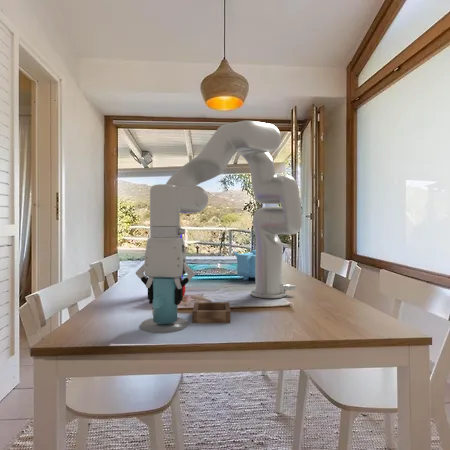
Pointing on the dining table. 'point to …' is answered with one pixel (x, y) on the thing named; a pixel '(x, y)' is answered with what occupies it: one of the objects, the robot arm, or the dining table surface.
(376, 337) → the dining table surface
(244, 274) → the light blue cushion
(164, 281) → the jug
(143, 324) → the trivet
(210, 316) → the cradle
